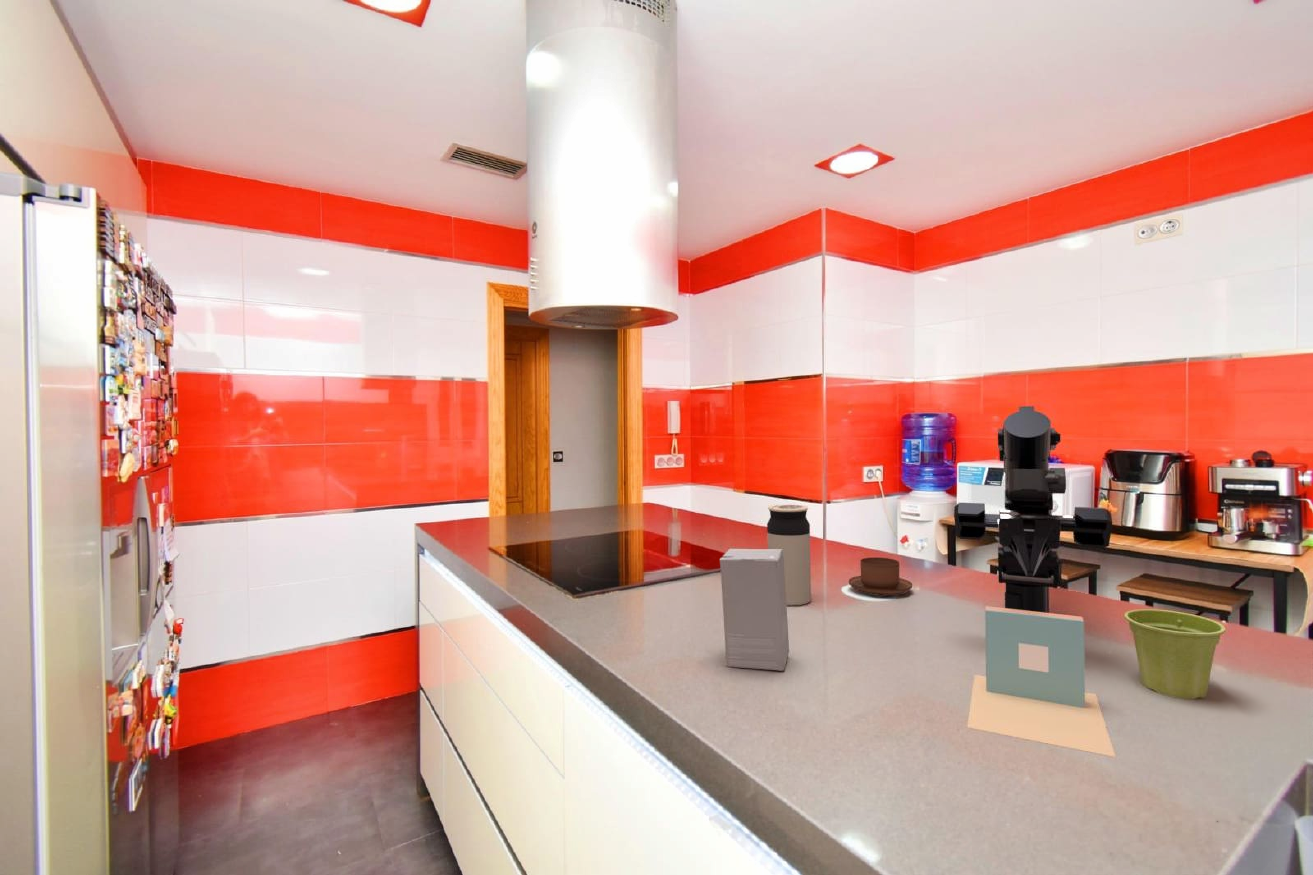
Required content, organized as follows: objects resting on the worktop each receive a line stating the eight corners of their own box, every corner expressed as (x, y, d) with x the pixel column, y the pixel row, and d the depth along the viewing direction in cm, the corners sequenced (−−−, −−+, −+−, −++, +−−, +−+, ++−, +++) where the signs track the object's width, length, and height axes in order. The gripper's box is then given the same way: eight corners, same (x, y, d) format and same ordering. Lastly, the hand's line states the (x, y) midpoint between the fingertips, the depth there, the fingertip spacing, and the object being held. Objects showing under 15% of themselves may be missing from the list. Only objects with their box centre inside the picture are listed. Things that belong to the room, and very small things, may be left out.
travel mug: (816, 598, 119) (815, 505, 119) (802, 608, 112) (801, 510, 112) (777, 593, 123) (776, 503, 123) (762, 603, 117) (760, 508, 116)
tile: (986, 685, 77) (985, 606, 77) (1083, 701, 72) (1082, 616, 72) (986, 691, 76) (985, 610, 75) (1084, 708, 71) (1084, 621, 70)
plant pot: (1235, 714, 69) (1234, 638, 69) (1129, 697, 74) (1129, 625, 74) (1215, 684, 77) (1214, 615, 77) (1121, 670, 82) (1120, 605, 82)
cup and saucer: (836, 587, 127) (836, 557, 127) (885, 582, 131) (885, 553, 131) (873, 602, 116) (873, 570, 116) (926, 596, 119) (925, 564, 119)
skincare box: (789, 656, 89) (787, 547, 89) (783, 675, 82) (780, 557, 82) (732, 650, 92) (730, 545, 92) (721, 668, 85) (719, 554, 85)
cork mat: (974, 677, 81) (974, 674, 81) (1095, 696, 74) (1095, 694, 74) (967, 730, 67) (967, 727, 67) (1115, 760, 60) (1115, 757, 60)
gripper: (954, 448, 91) (948, 533, 82) (1109, 447, 82) (1123, 543, 72) (958, 496, 98) (954, 580, 89) (1102, 501, 89) (1114, 595, 79)
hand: (1030, 574), depth 82 cm, fingers closed
